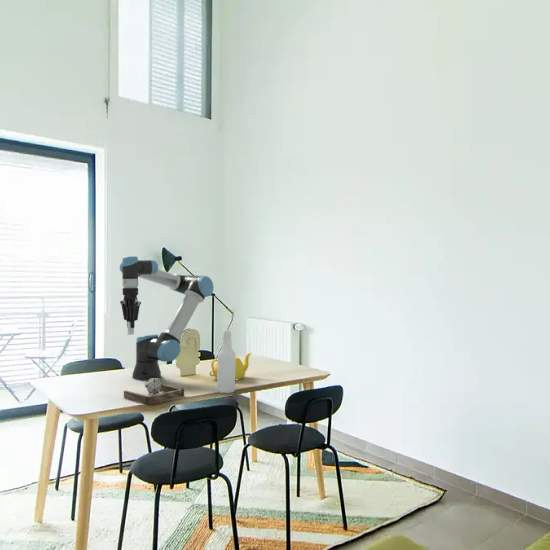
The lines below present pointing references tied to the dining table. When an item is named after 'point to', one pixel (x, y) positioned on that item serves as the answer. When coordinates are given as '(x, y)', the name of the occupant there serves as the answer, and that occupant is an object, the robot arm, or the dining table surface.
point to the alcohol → (226, 365)
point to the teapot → (239, 367)
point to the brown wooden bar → (169, 394)
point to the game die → (154, 385)
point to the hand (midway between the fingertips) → (130, 334)
